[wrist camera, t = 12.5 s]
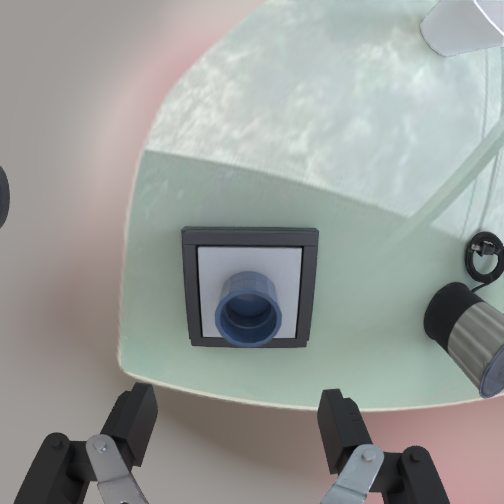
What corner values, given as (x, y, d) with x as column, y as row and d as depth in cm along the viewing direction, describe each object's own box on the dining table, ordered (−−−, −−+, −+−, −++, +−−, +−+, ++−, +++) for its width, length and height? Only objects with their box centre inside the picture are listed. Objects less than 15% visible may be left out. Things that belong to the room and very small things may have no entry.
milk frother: (419, 347, 34) (471, 411, 20) (424, 243, 30) (506, 286, 16) (485, 318, 34) (539, 363, 19) (493, 225, 30) (567, 252, 15)
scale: (191, 332, 33) (186, 345, 31) (184, 226, 30) (177, 232, 27) (306, 334, 33) (310, 347, 31) (315, 228, 30) (322, 233, 27)
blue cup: (221, 320, 29) (216, 346, 25) (219, 269, 28) (213, 288, 23) (276, 320, 29) (279, 347, 25) (278, 269, 28) (283, 289, 23)
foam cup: (409, 0, 21) (455, -42, 9) (459, 28, 22) (512, 1, 9) (411, 49, 24) (471, 11, 11) (464, 78, 24) (528, 58, 12)
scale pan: (204, 330, 31) (203, 336, 30) (200, 244, 29) (197, 247, 27) (293, 331, 31) (294, 338, 30) (299, 245, 29) (301, 248, 27)
